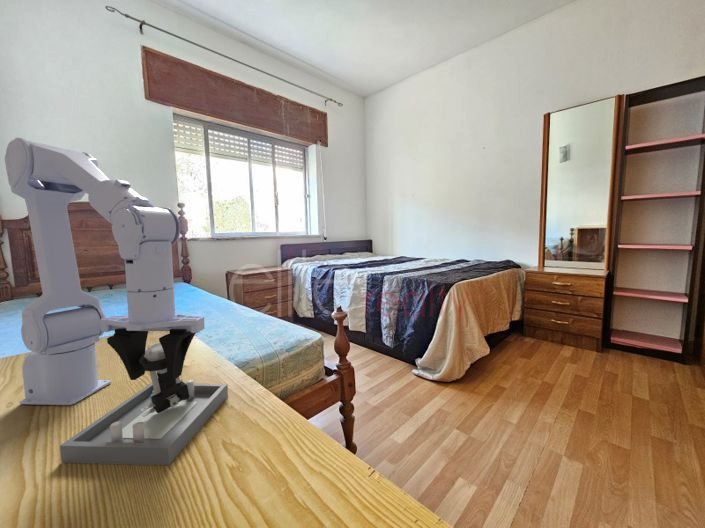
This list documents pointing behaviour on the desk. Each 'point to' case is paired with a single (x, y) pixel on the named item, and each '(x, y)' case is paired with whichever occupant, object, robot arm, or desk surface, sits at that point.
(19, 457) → the desk surface
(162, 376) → the push button
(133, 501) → the desk surface
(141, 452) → the pin tray
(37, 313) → the robot arm
